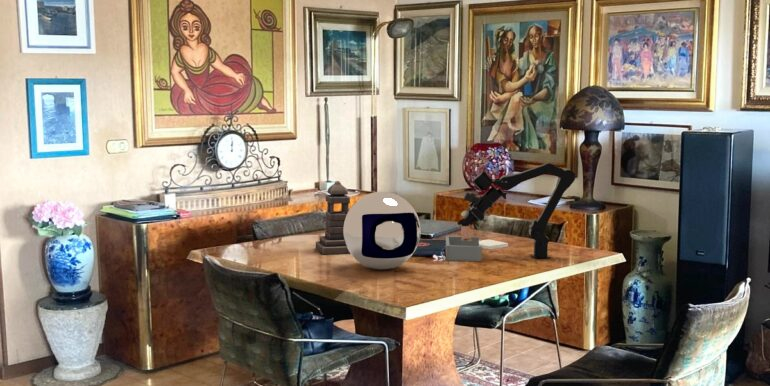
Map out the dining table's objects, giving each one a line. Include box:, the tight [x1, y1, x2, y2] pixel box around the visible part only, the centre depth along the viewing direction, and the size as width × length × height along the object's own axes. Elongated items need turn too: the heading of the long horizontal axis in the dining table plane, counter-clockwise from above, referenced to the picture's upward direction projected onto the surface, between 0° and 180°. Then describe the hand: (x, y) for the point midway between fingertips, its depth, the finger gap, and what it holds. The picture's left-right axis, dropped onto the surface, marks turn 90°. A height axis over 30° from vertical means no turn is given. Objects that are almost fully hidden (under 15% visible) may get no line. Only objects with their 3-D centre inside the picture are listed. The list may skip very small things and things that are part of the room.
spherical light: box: [343, 191, 422, 271], centre depth 344 cm, size 30×29×30 cm
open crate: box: [445, 235, 483, 262], centre depth 374 cm, size 14×23×6 cm, turn 177°
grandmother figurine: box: [455, 209, 475, 241], centre depth 373 cm, size 8×4×13 cm, turn 84°
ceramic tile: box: [479, 239, 509, 250], centre depth 396 cm, size 12×12×2 cm
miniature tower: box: [315, 180, 351, 256], centre depth 379 cm, size 16×15×30 cm
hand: (461, 224), depth 373 cm, fingers closed on grandmother figurine, 2 cm apart
